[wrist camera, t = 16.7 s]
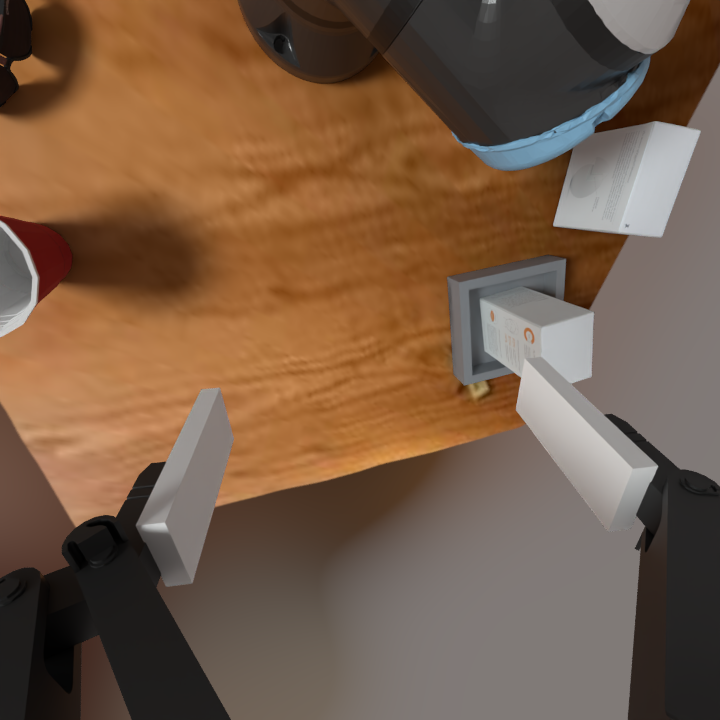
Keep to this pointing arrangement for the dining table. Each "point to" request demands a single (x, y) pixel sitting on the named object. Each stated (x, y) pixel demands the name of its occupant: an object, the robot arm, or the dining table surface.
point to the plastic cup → (28, 268)
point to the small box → (538, 332)
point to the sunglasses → (13, 42)
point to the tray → (466, 312)
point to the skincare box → (626, 179)
